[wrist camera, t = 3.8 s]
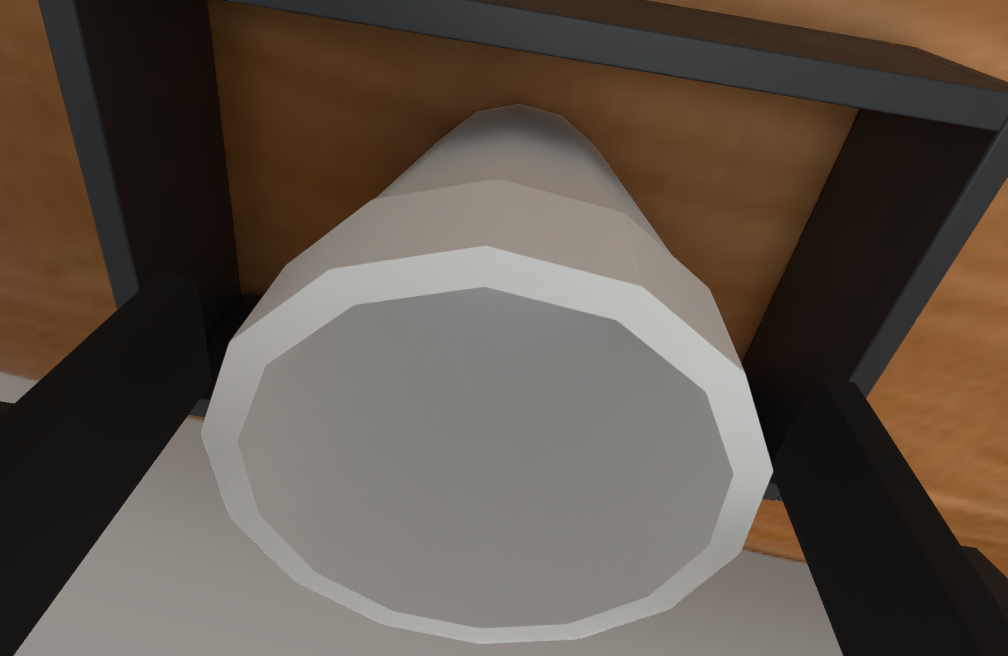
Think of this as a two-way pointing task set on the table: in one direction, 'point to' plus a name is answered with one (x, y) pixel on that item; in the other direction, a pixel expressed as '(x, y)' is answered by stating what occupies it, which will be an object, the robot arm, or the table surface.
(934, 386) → the table surface
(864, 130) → the organiser
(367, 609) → the foam cup
